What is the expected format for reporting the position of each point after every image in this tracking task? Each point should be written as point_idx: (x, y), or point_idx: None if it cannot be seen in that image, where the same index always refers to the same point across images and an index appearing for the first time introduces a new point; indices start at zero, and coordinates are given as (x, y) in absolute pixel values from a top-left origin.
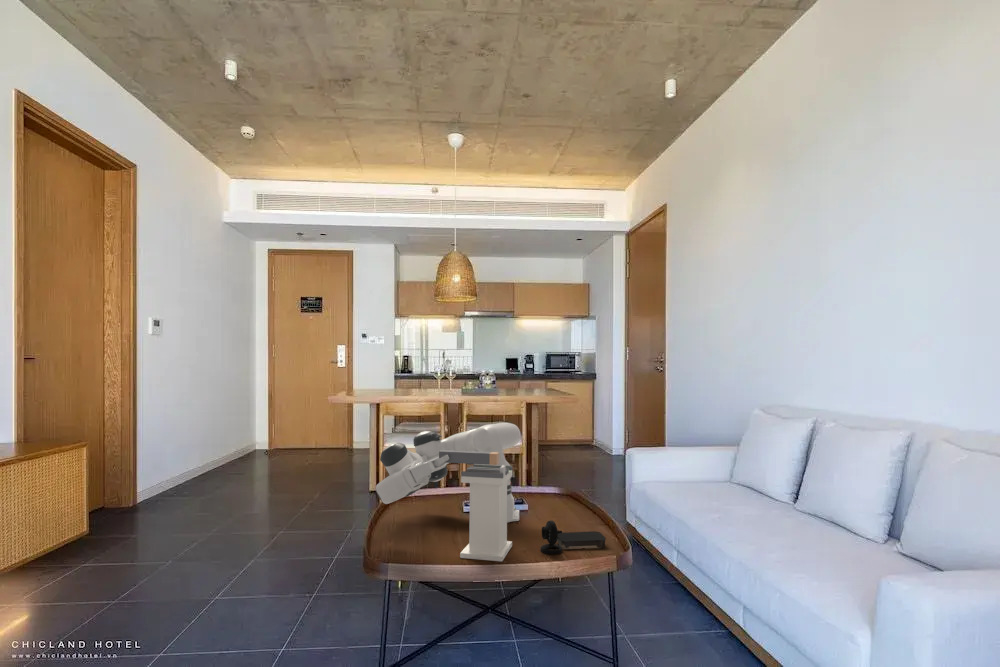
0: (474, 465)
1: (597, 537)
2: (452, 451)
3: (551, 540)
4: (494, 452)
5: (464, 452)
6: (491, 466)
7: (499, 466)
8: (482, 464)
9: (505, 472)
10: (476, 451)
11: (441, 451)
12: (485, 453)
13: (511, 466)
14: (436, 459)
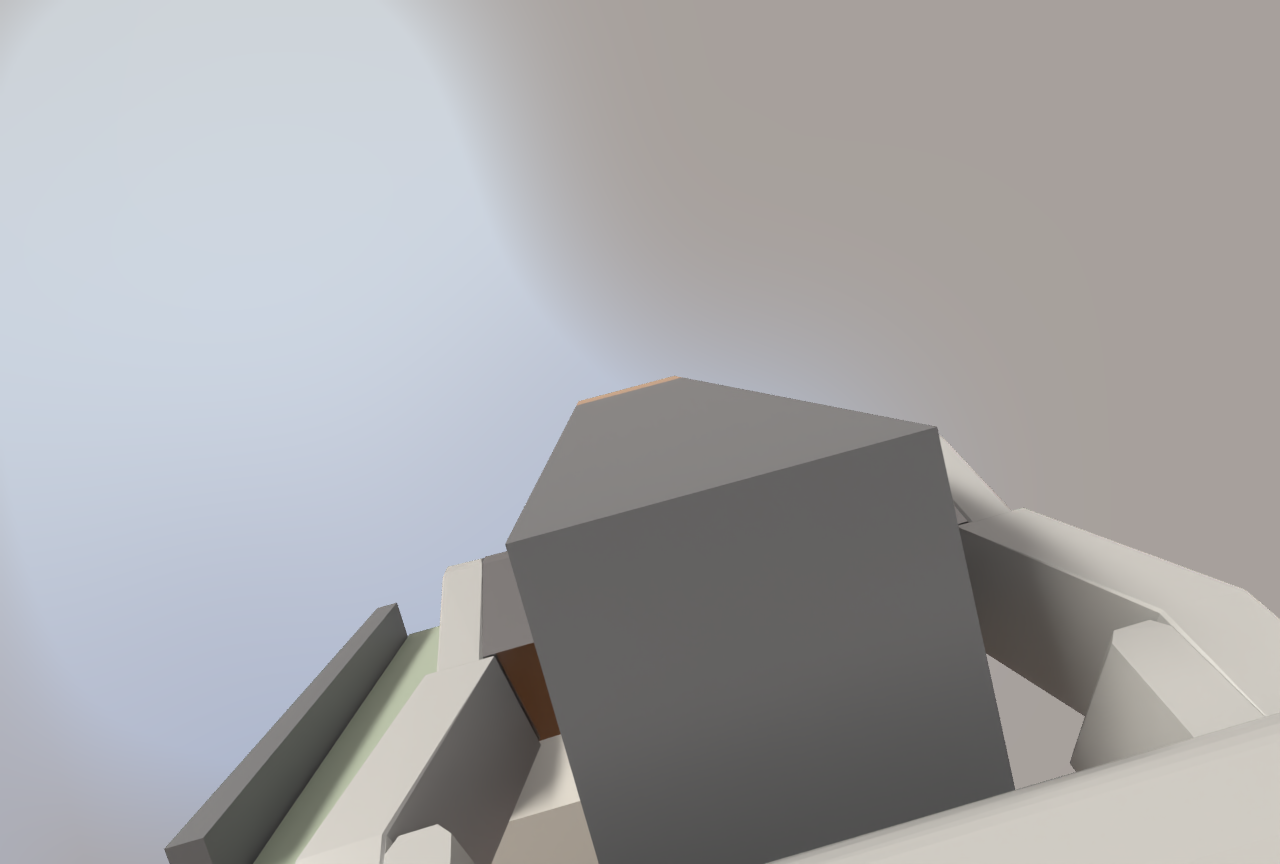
0: (221, 838)
1: None
2: (719, 416)
3: None
4: (600, 397)
5: (727, 387)
6: (332, 700)
7: (361, 656)
8: (246, 759)
9: None
10: (580, 416)
11: (883, 421)
12: (686, 379)
13: (396, 606)
14: (1078, 786)
